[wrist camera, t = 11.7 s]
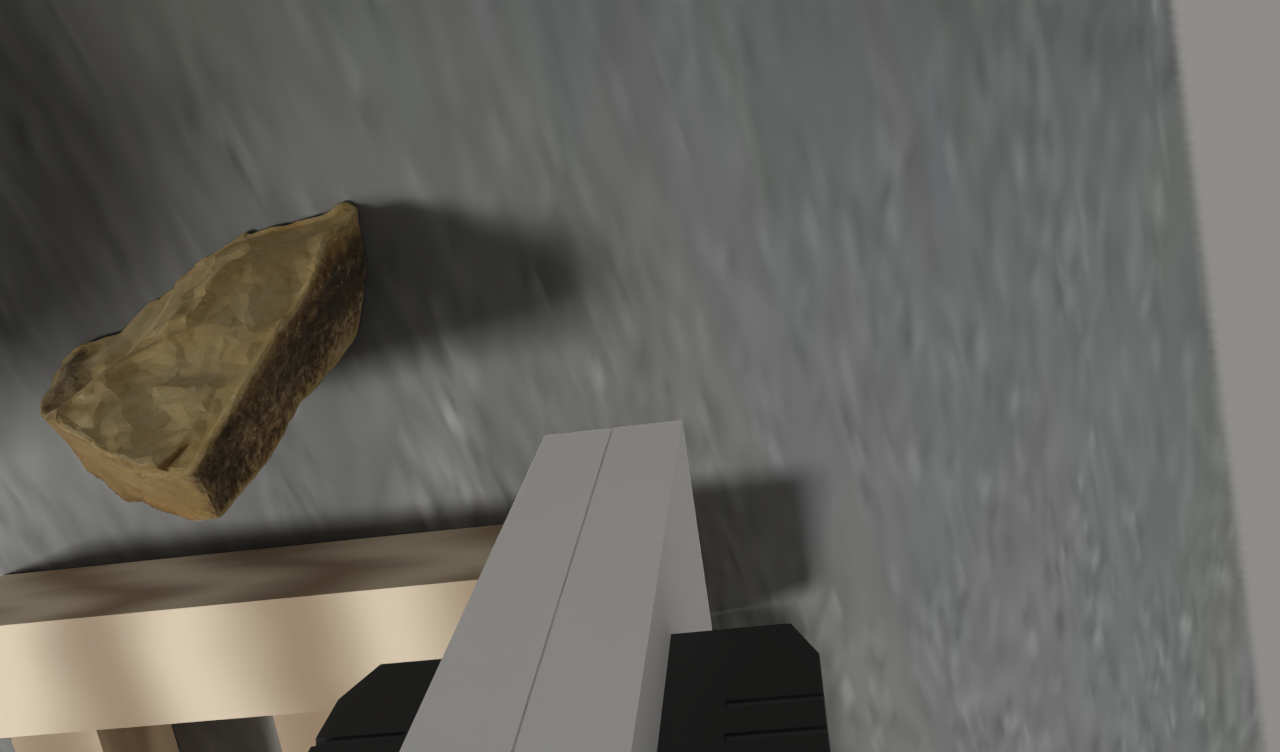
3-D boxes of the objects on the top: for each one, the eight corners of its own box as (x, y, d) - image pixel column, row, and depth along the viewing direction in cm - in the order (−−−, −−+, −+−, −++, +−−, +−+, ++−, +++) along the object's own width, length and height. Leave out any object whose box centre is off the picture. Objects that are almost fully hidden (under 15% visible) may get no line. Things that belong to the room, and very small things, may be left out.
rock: (31, 518, 39) (318, 577, 37) (-163, 437, 31) (191, 507, 29) (147, 220, 43) (414, 261, 41) (-1, 79, 35) (324, 122, 33)
